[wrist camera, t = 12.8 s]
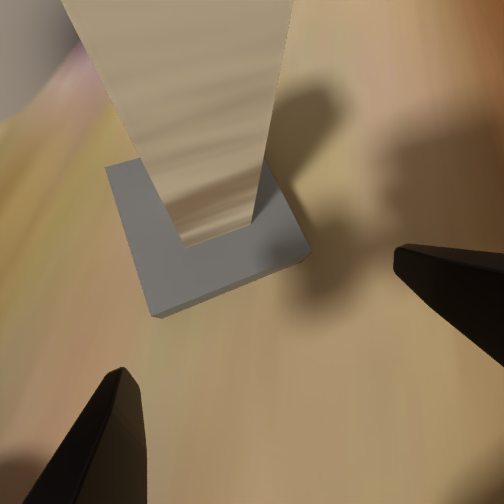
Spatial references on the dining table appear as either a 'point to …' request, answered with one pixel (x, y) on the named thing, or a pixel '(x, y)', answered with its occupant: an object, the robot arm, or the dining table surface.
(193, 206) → the maple post
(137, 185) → the plinth
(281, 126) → the dining table surface
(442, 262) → the robot arm
